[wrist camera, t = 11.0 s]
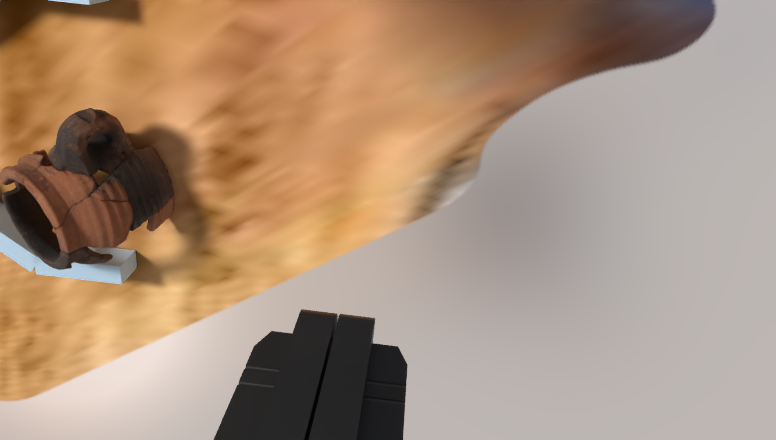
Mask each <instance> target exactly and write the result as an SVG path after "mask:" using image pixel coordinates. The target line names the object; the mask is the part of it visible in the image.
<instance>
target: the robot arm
mask: <svg viewBox="0 0 776 440" xmlns="http://www.w3.org/2000/svg"><path fill="white" fill-rule="evenodd" d="M337 317H338V316H337V314H334V313H327V312H318V311H311V310H301V312H300V314H299V317H298V319H297V322H296V325H295V328H294V331H293V334H291V333H282V332H274V331H271V332H270V333H269V334H268V335H267V336H265V337H264V338H263V339H262V340H261V341H260V342H258V343H257V344H256V345H255V346H254V348H253V350H252V352H251V355H250V357H249V359H248V362H247V364H246V368H245V369H244V371H243V373H242V376H241V378H240V381H239V385H237V387H236V390H235V392H234V394H233V396H232V399H231V401H230V403H229V406H228V408H227V410H226V412H225V415H224V417H223V419H222V422H221V424H220V426H219V429H218V431H217V433H216V436H215V438H214V440H403V427H404V412H405V395H406V378H407V363H406V361H405V359H404V358H403V356H402V354H401V352H400V350H399V348H398V347H397V346H389V345H381V344H373V335H374V325H375V318H369V317H361V316H352V315H344V314H340V315H339V318H338V322H337Z"/></svg>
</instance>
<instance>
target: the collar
mask: <svg viewBox="0 0 776 440" xmlns="http://www.w3.org/2000/svg"><path fill="white" fill-rule="evenodd" d="M0 1H1V0H0ZM50 1H59V2H68V3H77V4H86V5H91V4H96V3H101V2H106V1H110V0H50ZM88 248H90V249H91V250H92V251H94V252H97V253H100V254H111V255H113V258H112V259H111V260H109V261H107V262H106V263H98V264H79V263H72V264H71V265H72V268H71V269H64V270H62V269H61V270H58V269H54V268H52V267H50V266H48V265H47V264H45V263H44V262H43V261H42V260H41V259H40V258H39V257H38V256H37V255H36V254H35V253H34V252H33V251H32V250H31V249H30V248H29V246H28V245H27V243H26V242H25V241H24V239H23V238H22V236H21V235H20V234H19V232H18V231H17V229H16V228H15V226H14V224H13V222H12V220H11V219H10V217H9V215H8V212H7V210H6V208H5V205H4V204H2V203H1V202H0V252H2V253H3V254H5V255H6V256H8V257H9V258H11V259H12V260H14V261H15V262H17V263H18V264H20V265H21V266H23V267H24V268H25V269H27V270H28V271H30V272H32V271H33V270H34V269H35V270H36V274H39V275H47V276H56V277H64V278H73V279H81V280H89V281H98V282H106V283H115V284H123V283H124V281H125V280H126V279H127V278H128V277H129V276H130V275H131V274H132V272H133V271H134V270H135V269H136V268H137V262H136V252H135V250H129V249H120V248H99V247H97V248H92V247H88Z"/></svg>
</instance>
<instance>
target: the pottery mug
mask: <svg viewBox="0 0 776 440" xmlns="http://www.w3.org/2000/svg"><path fill="white" fill-rule="evenodd" d="M131 146H132V145H131V140H130V139H129V137H128V136H127V135H126V134H125V131H124V129H123V127H122V125H121V123H120V122H119V120H118V119H117V118H116V117H114V116H112V115H110V114H109V113H107V112H105V111H102V110H94V109H92V108H89V109H86V110H82V111H78V112H76V113H74V114H72V115H71V116H69V117H68V118H67V119H66V120H65V121H64V122H63V123H62V125H61V126H60V128H59V131H58V133H57V140H56V145H55V146H54V147H53V148H52V149H51V150H50V152H49V155H47V153H46V151H45V150H41V151H35V152H33V154H32V155H31V154H28V155H26V156H23V157H21V158H20V159H19V160H18V165H15V166H13V167H6V168H4V169H2V171H1V173H0V179H1V181H2V184H4V185H8V184H11V183H13V182H15V185H16V188H15V189H13V190H11V191H7V192H5V193H3V194H2V200H3V202H4V205H5V208H6V210H7V212H8V215H9V217H10V219H11V220H12V222H13V224H14V226H15V228H16V229H17V231H18V232H19V234H20V235H21V236H22V238H23V239H24V241H25V242H26V243H27V245H28V246H29V248H30V249H31V250H32V251H33V252H34V253H35V254H36V255H37V256H38V257H39V258H40V259H41V260H42V261H43V262H44V263H45V264H47V265H48V266H50V267H52V268H54V269H58V270H61V269H62V270H64V269H71V268H72V265H71V264H72V263H79V264H98V263H106V262H107V261H109V260H111V259H112V258H113V255H111V254H100V253H97V252H94V251H92V250H91V249H90V248H88V247H92V248H97V247H99V248H113V247H116V246H117V245H119V244H121V243H122V242H124V241H125V240H126V238H127V236H128V233H129V231H130V230H131V231H133V230H135V229H136V228H138V227H139V226H141V224H142V223H143V222H145V221H147V220H148V225H147V229H148V230H149V231H154V230H155V229H157V228H158V227H159V226H160V225H161V224H162V223H163V222H164V221H165V220H166V219H167V218H168V217H170V216H171V214H172V211H173V207H174V197H173V188H172V182H171V179H170V177H169V175H168V171H167V169H166V167H165V165H164V163H163V161H162V160H161V159H160V157H159V156H158V154H157V153H156V152H155V150H154V149H153V148H152V147H150V146H147V147H145V148H143V149H136V150H131ZM48 156H49V159H48ZM50 162H51V163H52V164H53V166H49V165H50ZM98 170H100V171H103V172H106V173H108V174H109V176H108V178H107V179H106V180H105V181H103V182H102V184H100V185H98V183H97V181H96V179H95V178H94V177H93V176H92V175H93V174H95V173H96V172H97V171H98ZM41 207H42V208H41ZM42 209H43V210H44V212H45V213H46V215H47V216H48V218H49V219H48V218H47V216H46V215H45V213H44V212H43V210H42ZM49 220H50V221H49ZM53 227H54V228H55V233H56V234H55V233H54V232H52V229H53Z"/></svg>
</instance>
